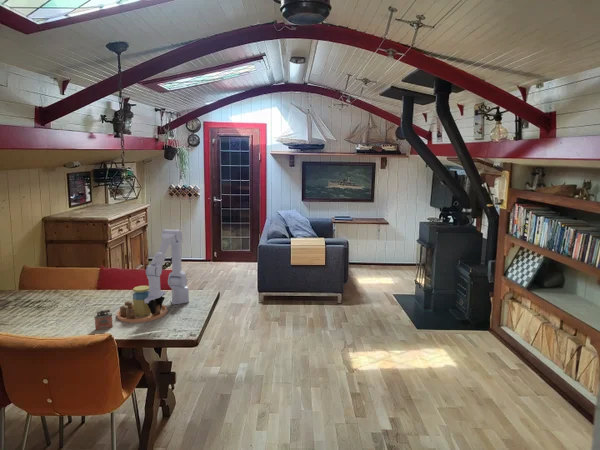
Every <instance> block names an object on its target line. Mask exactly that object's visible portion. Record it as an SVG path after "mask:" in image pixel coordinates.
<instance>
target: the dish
mask: <svg viewBox="0 0 600 450" xmlns="http://www.w3.org/2000/svg"><path fill="white" fill-rule="evenodd" d="M133 309H134V307H133ZM167 313H168V308H167V305H164V303H162V307H161V311H160V314H159V315H156V316H153V315H152V314H150V315H146V316H135V319H127V318H126V317H121V316H120V309H119V310H118V311H117V312H116V316H117V317H116V319H117V320H119V321H121V322H125V323H130V324H131V323H134V324H135V323H145V322H146V323H147V322H151V321H155V320H159V319H160V318H162V317H163V316H165V315H166V314H167Z"/></svg>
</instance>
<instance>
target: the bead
mask: <svg viewBox="0 0 600 450" xmlns="http://www.w3.org/2000/svg"><path fill="white" fill-rule="evenodd" d="M159 314H160V305H158V304H156V309H155V314H152V315H153V316H156V315H159Z"/></svg>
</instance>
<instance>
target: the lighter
mask: <svg viewBox="0 0 600 450" xmlns="http://www.w3.org/2000/svg"><path fill="white" fill-rule="evenodd" d="M94 325H95V326H94V327H95V331H101V330H107V329H111V328H113V327H114V326H113V313H111V309H109V308H108V309H101V310H99V311H96V315H94Z"/></svg>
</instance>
